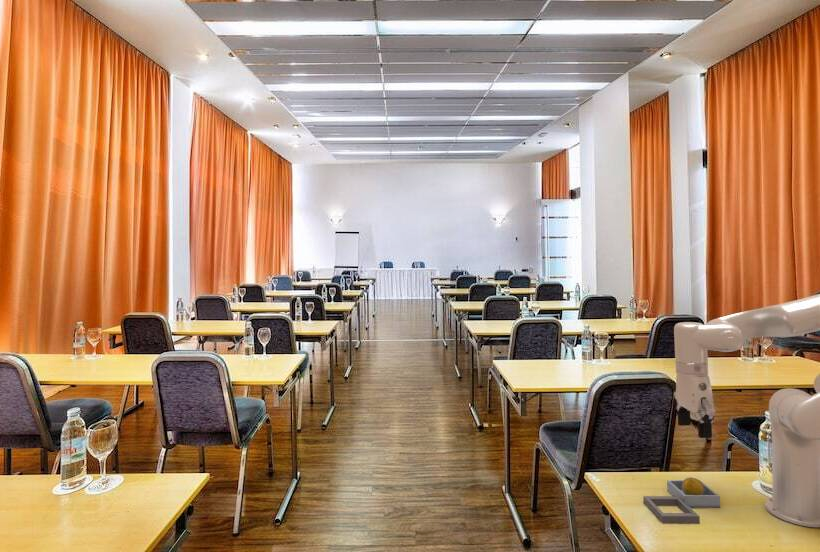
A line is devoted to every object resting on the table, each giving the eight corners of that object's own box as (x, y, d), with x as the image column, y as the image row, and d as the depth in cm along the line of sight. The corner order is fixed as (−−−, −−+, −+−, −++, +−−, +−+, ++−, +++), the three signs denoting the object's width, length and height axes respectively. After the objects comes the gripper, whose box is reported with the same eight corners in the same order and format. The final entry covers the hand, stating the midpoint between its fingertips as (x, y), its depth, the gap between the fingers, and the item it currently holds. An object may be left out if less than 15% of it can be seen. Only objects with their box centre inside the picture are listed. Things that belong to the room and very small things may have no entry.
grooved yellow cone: (710, 499, 124) (707, 484, 118) (690, 505, 125) (686, 491, 119) (697, 480, 128) (694, 465, 122) (678, 486, 129) (674, 472, 123)
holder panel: (677, 502, 122) (677, 496, 122) (699, 523, 112) (699, 516, 112) (643, 502, 123) (643, 496, 123) (662, 523, 113) (662, 516, 113)
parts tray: (699, 491, 128) (699, 480, 128) (720, 507, 119) (719, 496, 119) (667, 491, 129) (666, 480, 129) (684, 507, 120) (684, 496, 120)
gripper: (726, 374, 115) (729, 442, 115) (687, 361, 132) (690, 420, 132) (695, 375, 115) (698, 443, 115) (661, 362, 132) (663, 421, 132)
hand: (694, 431), depth 124 cm, fingers open, 9 cm apart
